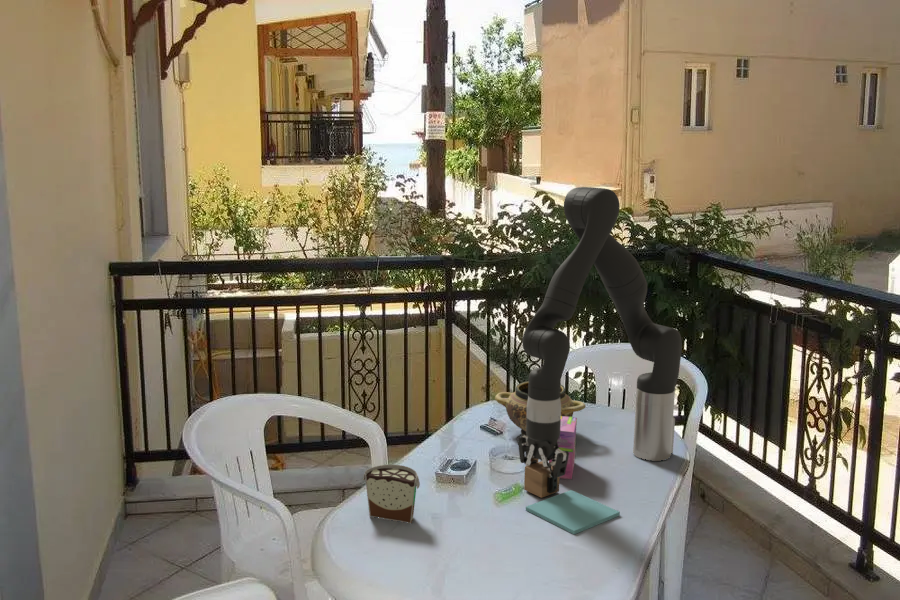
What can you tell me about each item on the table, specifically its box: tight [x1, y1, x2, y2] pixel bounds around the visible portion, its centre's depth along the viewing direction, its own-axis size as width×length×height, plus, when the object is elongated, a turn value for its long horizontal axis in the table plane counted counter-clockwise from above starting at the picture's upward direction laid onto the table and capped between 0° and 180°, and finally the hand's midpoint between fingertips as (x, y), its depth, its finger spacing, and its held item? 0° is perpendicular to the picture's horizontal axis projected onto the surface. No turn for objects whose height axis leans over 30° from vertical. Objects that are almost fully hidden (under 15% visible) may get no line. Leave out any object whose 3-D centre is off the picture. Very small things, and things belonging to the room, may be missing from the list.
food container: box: [362, 464, 421, 524], centre depth 179 cm, size 12×6×10 cm, turn 71°
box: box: [548, 416, 578, 480], centre depth 203 cm, size 10×6×12 cm, turn 168°
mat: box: [525, 489, 621, 535], centre depth 181 cm, size 14×14×1 cm
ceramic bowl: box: [494, 380, 587, 436], centre depth 227 cm, size 24×18×15 cm
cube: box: [523, 460, 561, 499], centre depth 191 cm, size 6×6×6 cm
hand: (541, 487), depth 191 cm, fingers closed on cube, 5 cm apart
